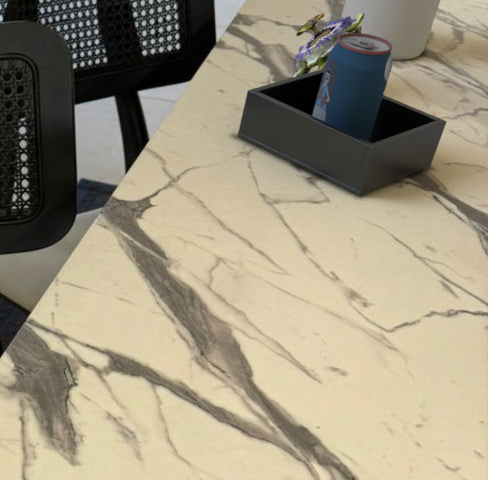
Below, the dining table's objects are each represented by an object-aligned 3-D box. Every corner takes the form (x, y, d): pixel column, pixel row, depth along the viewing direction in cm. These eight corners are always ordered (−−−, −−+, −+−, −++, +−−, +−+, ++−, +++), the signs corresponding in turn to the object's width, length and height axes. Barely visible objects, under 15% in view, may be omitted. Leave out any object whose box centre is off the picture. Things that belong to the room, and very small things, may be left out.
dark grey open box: (429, 170, 118) (447, 121, 114) (357, 198, 111) (374, 147, 107) (308, 115, 128) (321, 68, 124) (236, 138, 121) (247, 90, 117)
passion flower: (288, 123, 139) (291, 31, 138) (372, 119, 137) (376, 26, 136) (293, 101, 128) (296, 1, 127) (384, 97, 126) (388, -5, 125)
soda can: (375, 150, 119) (409, 44, 111) (346, 166, 115) (379, 58, 107) (323, 130, 122) (352, 26, 114) (293, 145, 118) (321, 39, 110)
